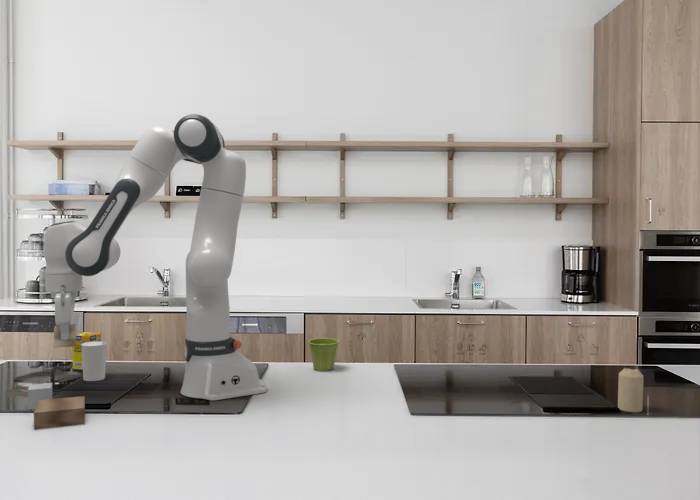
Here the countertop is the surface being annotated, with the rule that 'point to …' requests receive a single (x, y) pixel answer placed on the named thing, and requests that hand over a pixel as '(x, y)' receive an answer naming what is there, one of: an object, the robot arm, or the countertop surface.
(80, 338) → the supplement box
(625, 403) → the beige jar
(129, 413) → the countertop surface
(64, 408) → the walnut block
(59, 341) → the ash block
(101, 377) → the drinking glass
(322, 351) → the plant pot
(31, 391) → the grey block
